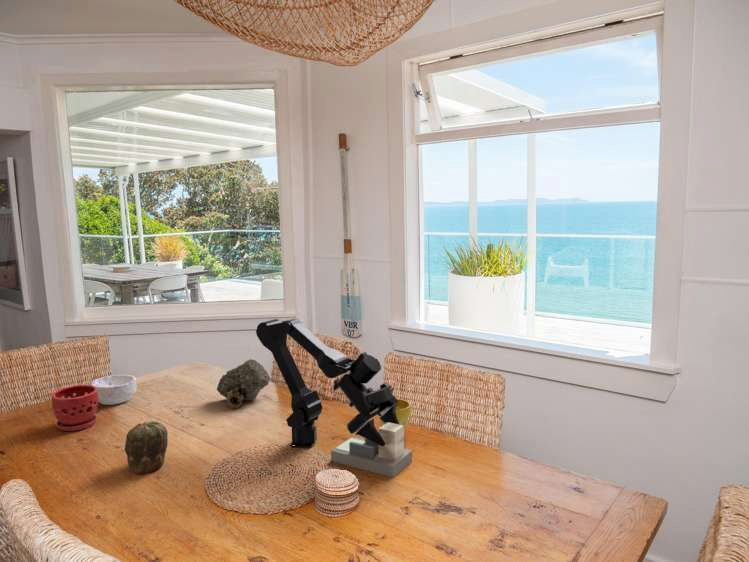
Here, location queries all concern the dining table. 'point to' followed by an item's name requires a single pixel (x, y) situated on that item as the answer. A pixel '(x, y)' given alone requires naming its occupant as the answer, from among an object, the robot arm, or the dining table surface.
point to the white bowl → (115, 388)
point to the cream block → (392, 441)
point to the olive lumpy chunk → (146, 447)
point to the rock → (243, 383)
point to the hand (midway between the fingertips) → (392, 439)
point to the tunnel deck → (368, 457)
